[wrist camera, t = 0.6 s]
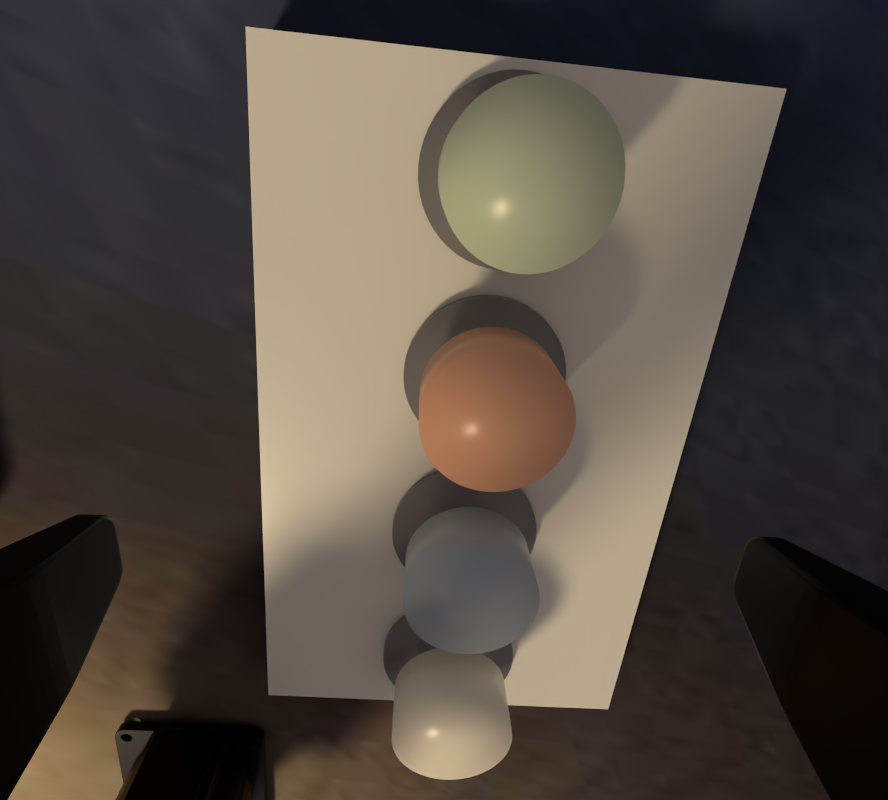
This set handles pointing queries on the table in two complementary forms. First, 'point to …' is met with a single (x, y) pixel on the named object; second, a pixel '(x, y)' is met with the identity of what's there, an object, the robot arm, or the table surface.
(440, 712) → the ivory button
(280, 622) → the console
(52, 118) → the table surface
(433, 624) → the slate button
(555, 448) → the terracotta button
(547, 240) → the sage button
